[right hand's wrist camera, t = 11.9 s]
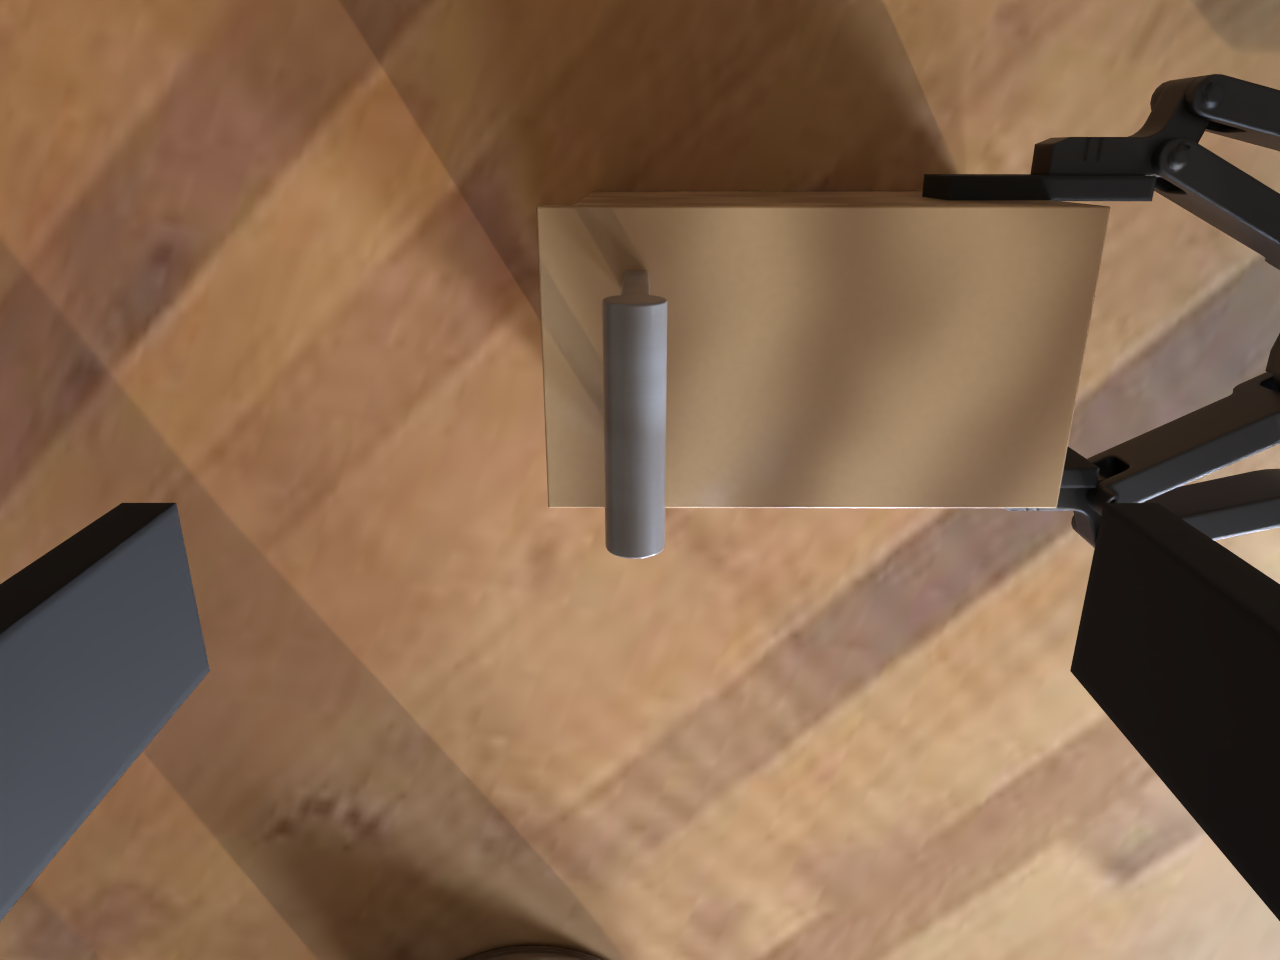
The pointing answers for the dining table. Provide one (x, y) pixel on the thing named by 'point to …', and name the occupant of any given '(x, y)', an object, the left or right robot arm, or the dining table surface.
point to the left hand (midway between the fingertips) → (919, 334)
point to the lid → (810, 356)
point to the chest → (786, 198)
